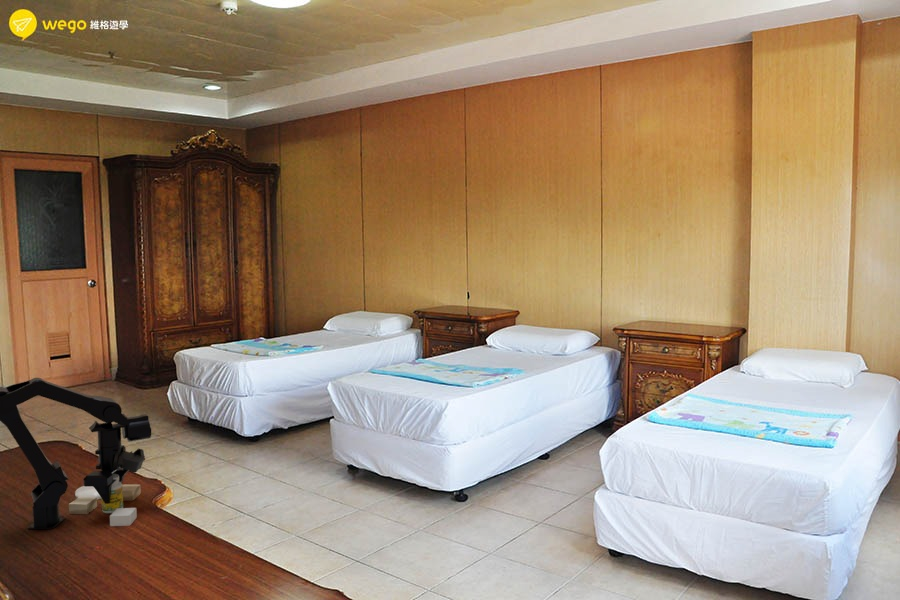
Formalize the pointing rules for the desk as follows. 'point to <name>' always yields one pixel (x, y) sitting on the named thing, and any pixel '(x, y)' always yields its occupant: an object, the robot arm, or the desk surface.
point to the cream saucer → (87, 492)
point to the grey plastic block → (123, 517)
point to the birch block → (83, 505)
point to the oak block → (131, 491)
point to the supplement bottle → (114, 496)
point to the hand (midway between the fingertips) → (112, 499)
